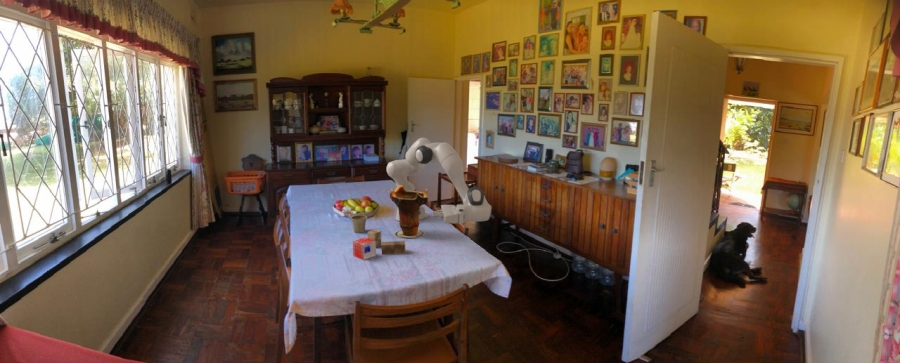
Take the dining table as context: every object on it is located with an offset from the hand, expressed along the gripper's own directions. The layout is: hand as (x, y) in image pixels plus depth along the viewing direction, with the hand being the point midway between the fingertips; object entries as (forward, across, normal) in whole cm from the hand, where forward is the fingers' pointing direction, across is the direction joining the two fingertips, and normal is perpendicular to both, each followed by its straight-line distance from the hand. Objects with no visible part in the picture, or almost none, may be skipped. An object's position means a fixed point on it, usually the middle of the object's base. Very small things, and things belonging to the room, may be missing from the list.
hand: (433, 213), depth 220 cm
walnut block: (+14, +1, +18) cm, 23 cm away
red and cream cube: (+35, +4, +21) cm, 41 cm away
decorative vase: (+12, -28, +21) cm, 37 cm away
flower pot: (+41, -34, +22) cm, 58 cm away
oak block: (+31, -10, +21) cm, 38 cm away
